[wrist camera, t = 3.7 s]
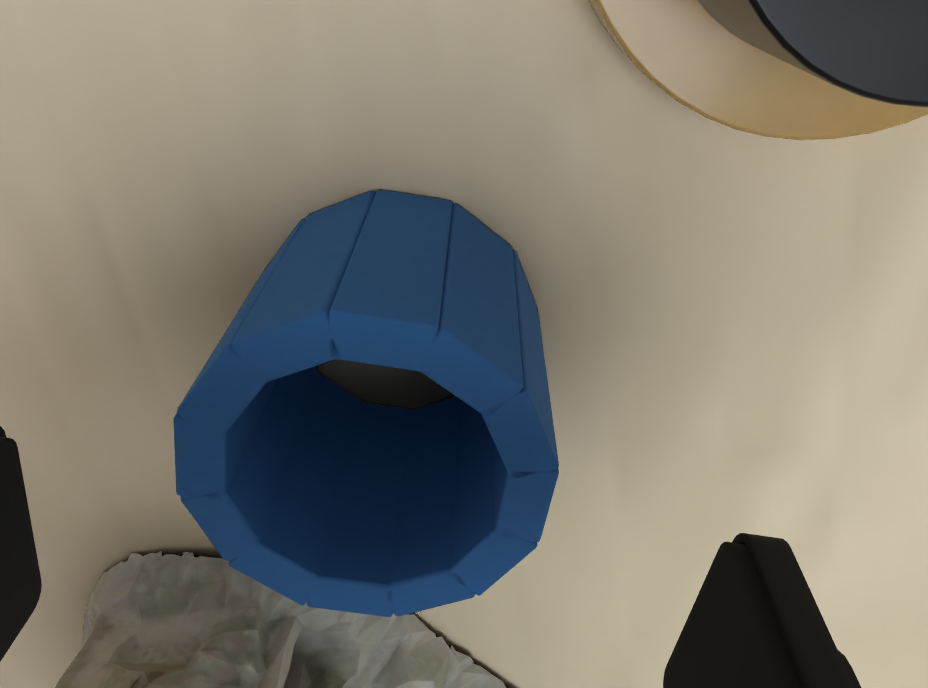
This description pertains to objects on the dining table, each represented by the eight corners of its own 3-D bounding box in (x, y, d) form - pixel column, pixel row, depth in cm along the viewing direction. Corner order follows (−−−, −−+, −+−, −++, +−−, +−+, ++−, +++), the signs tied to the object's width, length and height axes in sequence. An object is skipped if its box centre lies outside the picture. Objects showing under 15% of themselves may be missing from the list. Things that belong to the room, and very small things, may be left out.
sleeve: (260, 413, 18) (179, 592, 13) (266, 169, 15) (167, 286, 10) (507, 448, 18) (515, 634, 14) (560, 216, 16) (594, 350, 11)
